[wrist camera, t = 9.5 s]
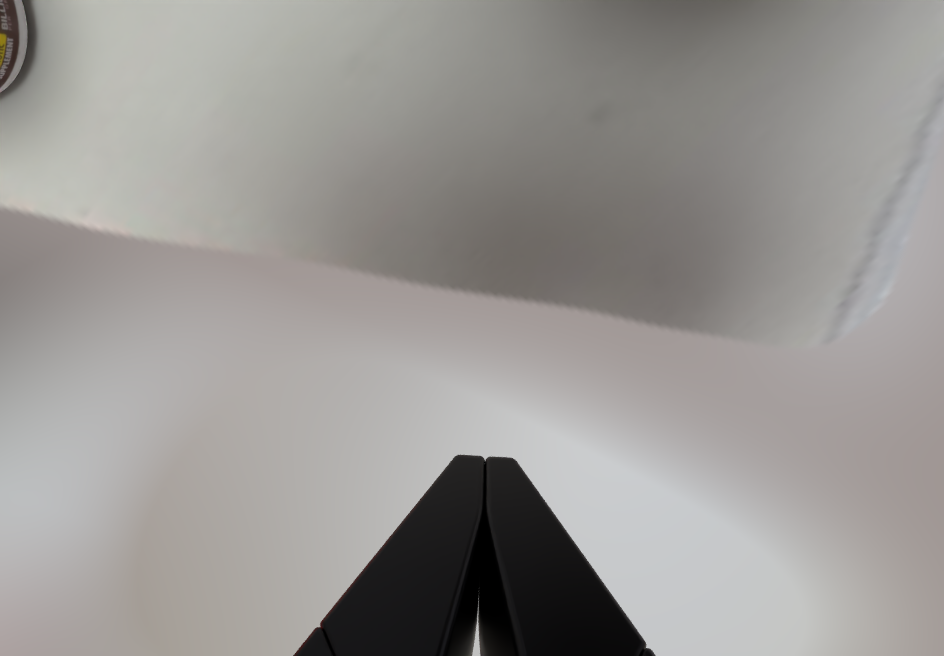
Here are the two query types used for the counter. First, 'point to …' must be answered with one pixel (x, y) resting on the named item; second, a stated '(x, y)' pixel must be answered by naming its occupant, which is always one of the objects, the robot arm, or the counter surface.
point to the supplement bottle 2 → (11, 40)
